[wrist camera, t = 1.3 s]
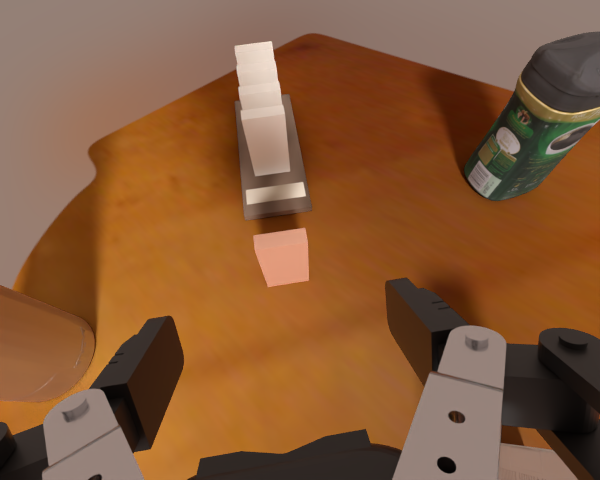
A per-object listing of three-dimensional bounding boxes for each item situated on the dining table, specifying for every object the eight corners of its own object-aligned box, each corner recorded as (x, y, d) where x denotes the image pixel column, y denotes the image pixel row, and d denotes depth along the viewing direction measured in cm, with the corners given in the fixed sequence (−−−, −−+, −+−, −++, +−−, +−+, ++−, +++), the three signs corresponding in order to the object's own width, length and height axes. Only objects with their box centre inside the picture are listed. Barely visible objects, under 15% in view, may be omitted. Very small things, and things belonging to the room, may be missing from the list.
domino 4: (290, 171, 46) (284, 114, 37) (255, 176, 46) (241, 120, 37) (288, 162, 47) (283, 104, 38) (254, 167, 47) (240, 110, 38)
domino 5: (308, 280, 39) (307, 242, 31) (267, 286, 39) (254, 250, 30) (306, 268, 40) (305, 227, 31) (266, 274, 40) (253, 235, 31)
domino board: (245, 220, 44) (244, 216, 43) (235, 106, 54) (234, 100, 53) (311, 210, 44) (311, 206, 43) (289, 99, 54) (289, 93, 54)
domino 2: (282, 129, 50) (276, 68, 41) (250, 133, 50) (237, 73, 41) (281, 121, 51) (275, 60, 42) (249, 126, 50) (236, 65, 42)
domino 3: (286, 149, 48) (280, 90, 39) (252, 154, 48) (239, 95, 39) (285, 141, 49) (278, 81, 40) (251, 145, 49) (238, 86, 40)
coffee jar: (509, 148, 48) (611, 10, 32) (545, 188, 44) (682, 57, 28) (451, 167, 47) (526, 34, 30) (484, 210, 43) (590, 86, 27)
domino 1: (279, 110, 52) (272, 48, 43) (248, 114, 52) (235, 53, 43) (278, 103, 53) (271, 41, 44) (247, 107, 52) (234, 45, 44)
